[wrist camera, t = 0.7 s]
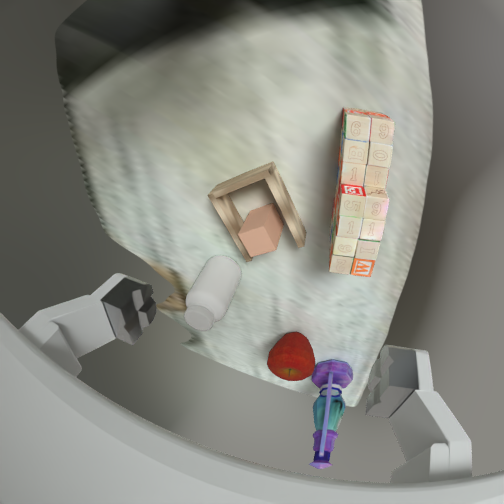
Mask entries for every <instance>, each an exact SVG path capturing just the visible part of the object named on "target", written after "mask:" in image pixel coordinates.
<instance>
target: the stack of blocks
mask: <svg viewBox="0 0 504 504" xmlns="http://www.w3.org/2000/svg"><path fill="white" fill-rule="evenodd" d="M394 128H395V122H394V121H393V120H391V119H390V118H389V117H388V116H386V115H384V114H383V113H379V112H373V111H367V110H361V109H355V108H345V107H344V108H343V120H342V127H341V140H340V151H339V161H338V163H339V166H338V175H337V184H336V192H335V198H334V205H333V212H332V217H331V224H330V255H329V256H330V258H329V259H330V261H329V272H332V273H340V274H347V275H349V274H351V275H357V276H366V277H371V274H372V271H373V267H374V264H375V260H376V258H377V254H378V250H379V246H380V241H381V240H382V236H383V231H384V226H385V220H386V216H387V211H388V205H389V200H390V199H389V197H388V194H387V192H386V190H385V189H386V184H387V178H388V172H389V168H390V164H391V158H392V151H393V145H392V144H393V137H394Z"/></svg>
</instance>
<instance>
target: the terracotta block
mask: <svg viewBox="0 0 504 504" xmlns="http://www.w3.org/2000/svg"><path fill="white" fill-rule="evenodd" d="M283 225H284V224H283V222H282V220H281V218H280V216H279V214H278V212H277V210H276V208H275V206H274V204H273V203H271V204H268V205H266V206H263V207H260V208H257V209H254V210H251V211H250V213H249V214H248V216H247V218H246V220H245V222H244V224H243V226H242V228H241V229H240V231H239V233H238V235H239V237H240V239H241V241H242V242H243V244H244V246H245V248H246V249H247V251H248V253H249V255H250V256H251V257H253V256H257V255H260V254H264V253H267V252H271V251H275V250H276V249H277V246H278V242H279V239H280V236H281V232H282V229H283Z"/></svg>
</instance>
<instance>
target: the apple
mask: <svg viewBox="0 0 504 504" xmlns="http://www.w3.org/2000/svg"><path fill="white" fill-rule="evenodd" d="M267 365H268V367H269V369H270V370H271V372H272V373H273V374H275V375H276V376H278V377H280V378H281V379H284V380H288V381H299V380H303V379H305V378H307V377H309V376H310V375H312V373H313V371H314V367H315V357H314V353H313V349H312V347H311V345H310V343H309V340H308V339H307V338H306V337H305V336H304V335H302V334H301V333H299V332H292V333H288V334H286V335H284V336H283V337H282V338H281V339H280V340H279V341H278V342H277V343H276V344H275V345H274V347H273V348H272V349H271V350H270V352H269V356H268V361H267Z"/></svg>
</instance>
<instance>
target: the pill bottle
mask: <svg viewBox="0 0 504 504" xmlns="http://www.w3.org/2000/svg"><path fill="white" fill-rule="evenodd" d="M241 275H242V273H241V269H240V267H239V265H238V264H237V263H236V262H235V261H234V260H233V259H231V258H229V257H227V256H222V255H217V256H214V257H212V258H210V259H209V260H208V261H207V263H206V264H205V266H204V268H203V269H202V271H201V273H200V274H199V276H198V278H197V279H196V281H195V282H194V284H193V286H192V287H191V289H190V291H189V292H188V294H187V297H186V306H187V310H186V312H185V314H184V318H185V321H186V322H187V323H188V324H189V325H190V326H191V327H193V328H194V329H197V330H200V331H207V330H209V329H211V327H212V325H213V323H214V322H217V321H219V320H221V319H222V318H223V317H224V316H225V314H226V312H227V310H228V307H229V305H230V303H231V300H232V298H233V296H234V293H235V291H236V289H237V287H238V284H239V282H240V280H241Z"/></svg>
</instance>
